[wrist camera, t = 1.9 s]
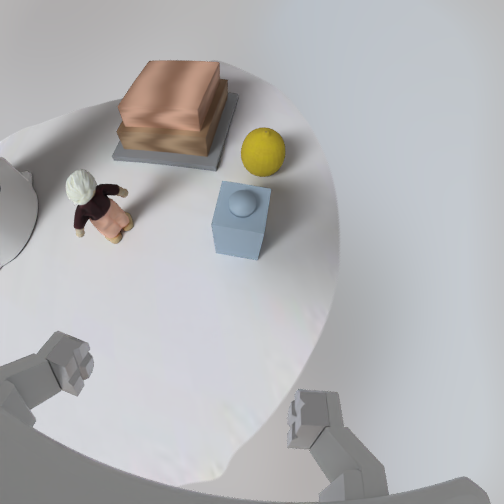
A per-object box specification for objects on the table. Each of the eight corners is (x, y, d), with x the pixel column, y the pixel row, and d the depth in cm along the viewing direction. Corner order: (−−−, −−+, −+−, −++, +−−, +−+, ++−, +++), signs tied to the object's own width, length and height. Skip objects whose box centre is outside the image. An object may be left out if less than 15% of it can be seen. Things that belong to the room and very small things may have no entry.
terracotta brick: (124, 149, 38) (108, 112, 31) (154, 93, 42) (146, 57, 35) (207, 156, 38) (203, 115, 31) (227, 98, 43) (227, 59, 35)
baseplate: (114, 160, 39) (112, 156, 38) (150, 92, 44) (149, 88, 43) (216, 171, 39) (215, 166, 38) (238, 98, 44) (238, 93, 43)
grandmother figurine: (124, 202, 36) (88, 143, 24) (144, 214, 36) (111, 155, 24) (90, 247, 34) (39, 201, 22) (109, 262, 33) (59, 219, 21)
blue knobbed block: (216, 253, 35) (210, 220, 26) (224, 215, 36) (222, 176, 28) (257, 260, 35) (265, 230, 26) (263, 222, 36) (272, 184, 28)
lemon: (280, 157, 40) (289, 118, 33) (280, 189, 38) (290, 151, 31) (241, 154, 40) (243, 114, 32) (238, 186, 38) (240, 147, 30)
